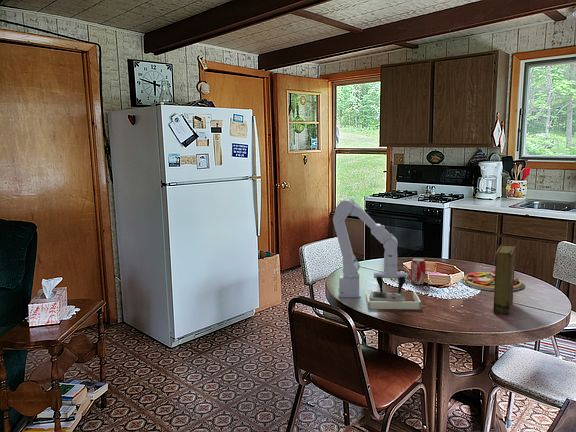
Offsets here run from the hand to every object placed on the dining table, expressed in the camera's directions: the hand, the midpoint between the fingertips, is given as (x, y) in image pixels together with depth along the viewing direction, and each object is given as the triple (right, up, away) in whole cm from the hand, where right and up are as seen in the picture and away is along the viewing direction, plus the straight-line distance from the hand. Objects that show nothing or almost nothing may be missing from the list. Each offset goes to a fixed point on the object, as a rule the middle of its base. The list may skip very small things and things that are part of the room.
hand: (390, 293), depth 196 cm
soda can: (+18, +1, +20) cm, 27 cm away
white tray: (-1, -3, -7) cm, 7 cm away
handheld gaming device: (-3, -4, -6) cm, 7 cm away
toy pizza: (+53, +1, +17) cm, 56 cm away
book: (+43, -4, -16) cm, 46 cm away
